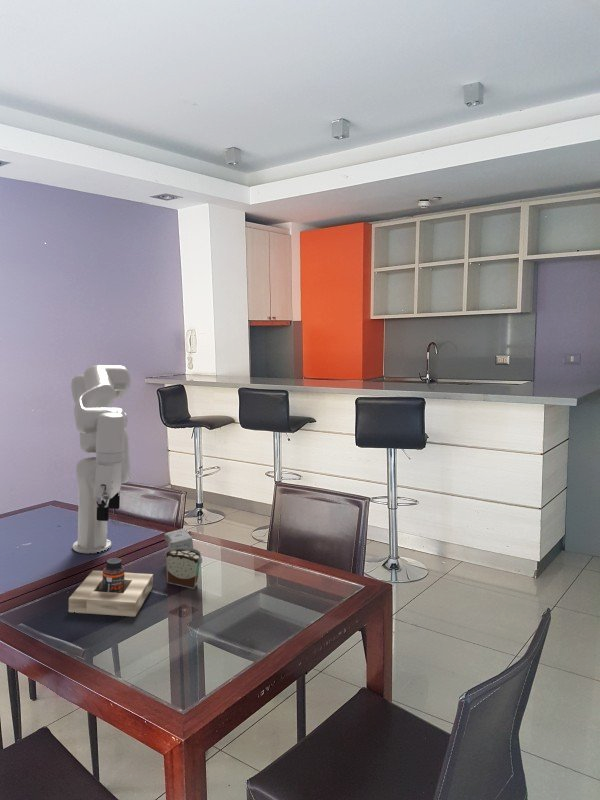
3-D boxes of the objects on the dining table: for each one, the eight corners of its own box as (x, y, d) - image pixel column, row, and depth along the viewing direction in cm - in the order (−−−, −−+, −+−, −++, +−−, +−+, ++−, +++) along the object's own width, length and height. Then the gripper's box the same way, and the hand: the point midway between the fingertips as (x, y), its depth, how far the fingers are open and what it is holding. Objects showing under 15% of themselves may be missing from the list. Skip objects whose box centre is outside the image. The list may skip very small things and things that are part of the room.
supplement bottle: (111, 605, 163) (112, 566, 162) (97, 599, 166) (98, 561, 165) (128, 597, 168) (129, 560, 167) (114, 591, 171) (115, 554, 170)
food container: (208, 582, 182) (209, 551, 180) (198, 590, 176) (200, 558, 175) (173, 574, 186) (174, 543, 184) (163, 581, 180) (164, 550, 178)
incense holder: (162, 559, 196) (163, 529, 195) (187, 556, 200) (188, 527, 199) (170, 571, 187) (171, 540, 186) (195, 568, 191) (196, 537, 190)
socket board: (92, 583, 176) (93, 570, 175) (152, 587, 176) (153, 574, 175) (68, 612, 158) (68, 598, 157) (135, 616, 158) (135, 602, 157)
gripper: (106, 448, 174) (105, 503, 177) (85, 463, 157) (84, 524, 160) (132, 450, 174) (130, 505, 177) (113, 465, 157) (111, 526, 160)
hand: (108, 514), depth 168 cm, fingers open, 9 cm apart
